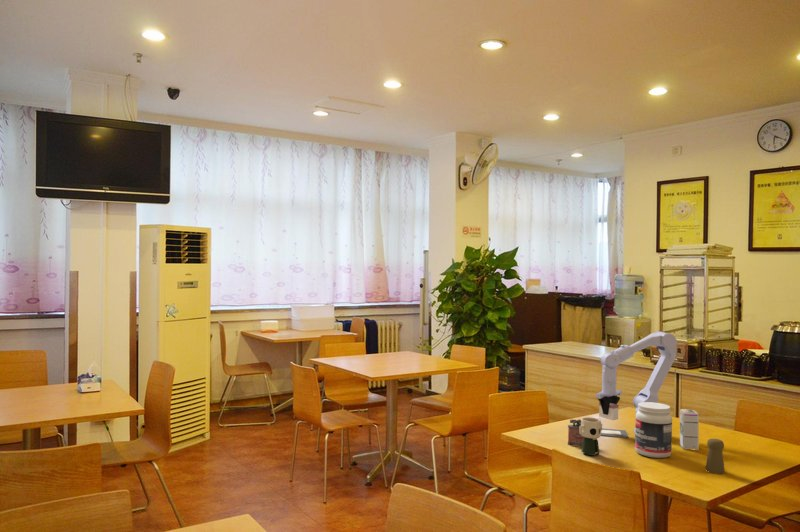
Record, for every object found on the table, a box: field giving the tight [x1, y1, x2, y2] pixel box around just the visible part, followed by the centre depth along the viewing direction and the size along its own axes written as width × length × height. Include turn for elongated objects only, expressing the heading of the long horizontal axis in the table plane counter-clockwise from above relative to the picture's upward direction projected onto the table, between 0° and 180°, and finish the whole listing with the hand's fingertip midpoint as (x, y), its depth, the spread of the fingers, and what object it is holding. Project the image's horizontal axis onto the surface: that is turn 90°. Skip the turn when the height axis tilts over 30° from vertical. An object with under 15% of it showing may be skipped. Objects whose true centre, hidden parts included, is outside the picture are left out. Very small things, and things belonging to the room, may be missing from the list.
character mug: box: [579, 416, 603, 456], centre depth 223 cm, size 11×7×13 cm, turn 116°
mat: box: [600, 427, 629, 439], centre depth 253 cm, size 15×11×1 cm
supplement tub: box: [634, 402, 673, 459], centre depth 225 cm, size 13×13×18 cm
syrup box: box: [679, 408, 700, 451], centre depth 234 cm, size 6×6×14 cm
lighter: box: [567, 418, 585, 447], centre depth 235 cm, size 8×3×10 cm, turn 84°
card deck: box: [598, 401, 619, 421], centre depth 253 cm, size 3×7×6 cm, turn 34°
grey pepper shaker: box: [705, 438, 726, 475], centre depth 207 cm, size 6×6×11 cm
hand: (608, 413), depth 253 cm, fingers closed on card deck, 3 cm apart
